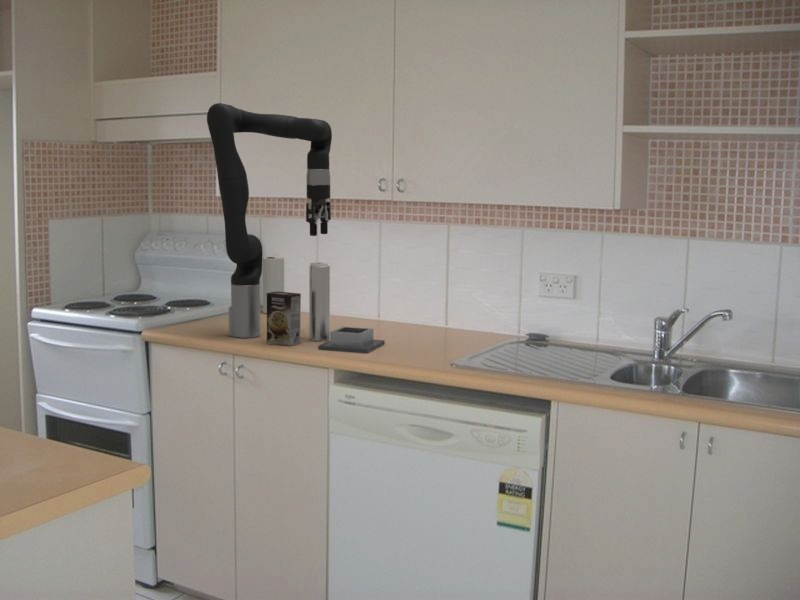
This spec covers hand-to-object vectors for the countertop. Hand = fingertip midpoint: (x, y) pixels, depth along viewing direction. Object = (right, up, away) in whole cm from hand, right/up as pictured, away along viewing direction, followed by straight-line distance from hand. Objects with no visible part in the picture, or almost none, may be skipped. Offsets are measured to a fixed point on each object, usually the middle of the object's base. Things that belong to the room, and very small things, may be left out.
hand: (318, 235), depth 285 cm
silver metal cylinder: (0, -34, +5) cm, 34 cm away
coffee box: (-11, -35, -2) cm, 36 cm away
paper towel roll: (-23, -26, +57) cm, 67 cm away
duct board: (+11, -35, -6) cm, 37 cm away
